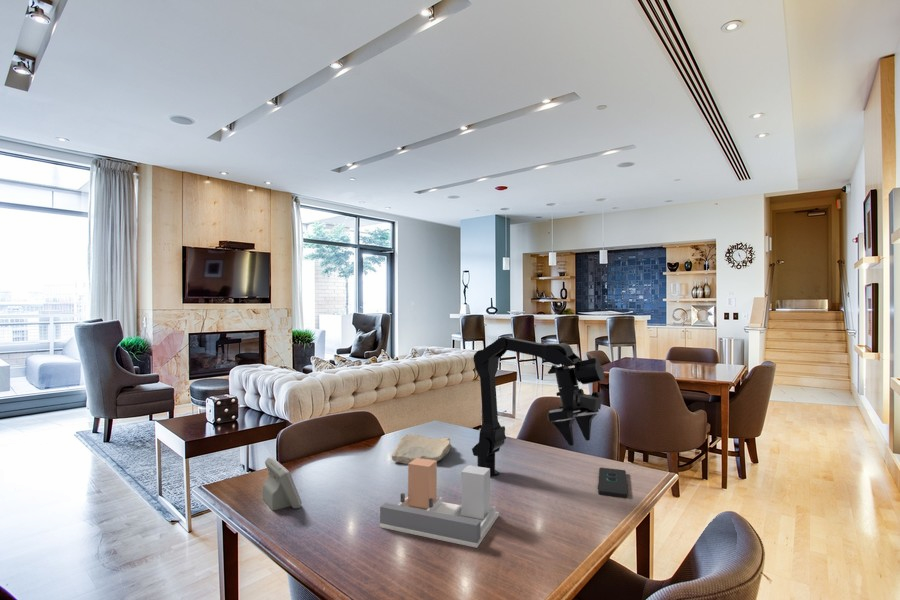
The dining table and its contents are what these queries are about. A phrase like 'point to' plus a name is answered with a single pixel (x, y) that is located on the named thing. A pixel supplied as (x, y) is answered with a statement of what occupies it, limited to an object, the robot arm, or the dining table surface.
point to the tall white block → (475, 492)
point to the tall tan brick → (422, 482)
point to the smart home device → (612, 483)
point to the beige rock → (420, 448)
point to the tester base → (436, 521)
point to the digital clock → (279, 487)
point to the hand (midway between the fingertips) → (580, 442)
